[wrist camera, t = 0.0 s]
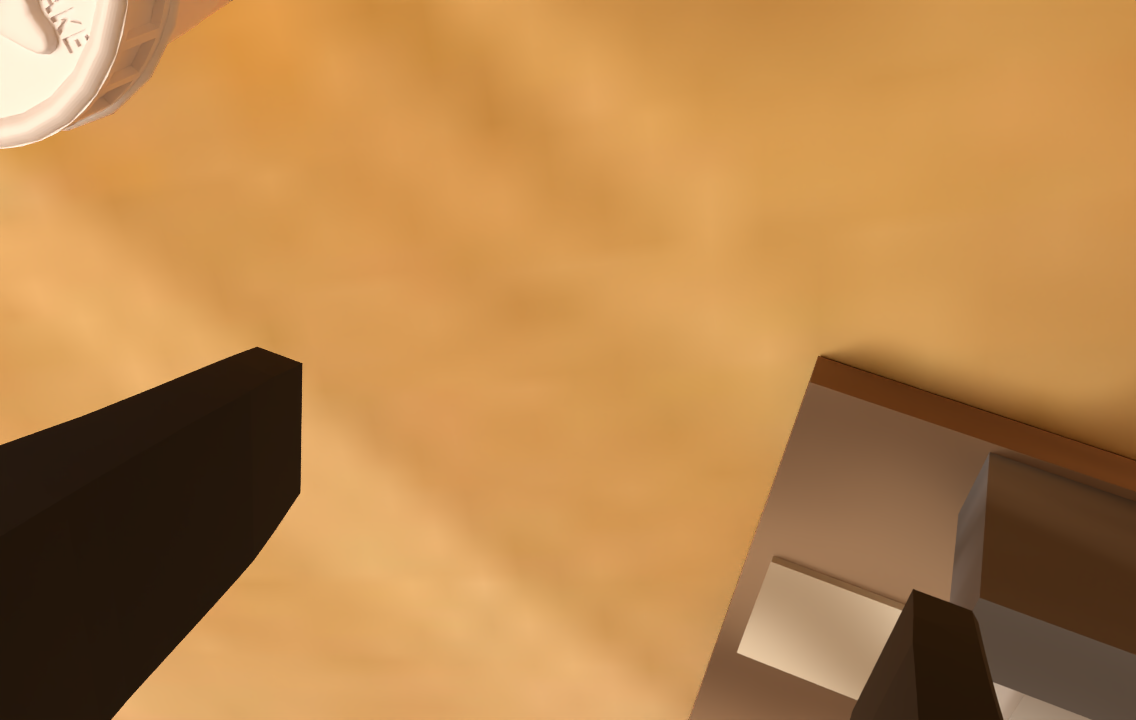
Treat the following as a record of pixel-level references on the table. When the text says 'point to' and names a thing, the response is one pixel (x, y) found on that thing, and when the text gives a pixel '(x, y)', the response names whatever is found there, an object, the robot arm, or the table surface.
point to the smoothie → (81, 58)
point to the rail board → (930, 557)
